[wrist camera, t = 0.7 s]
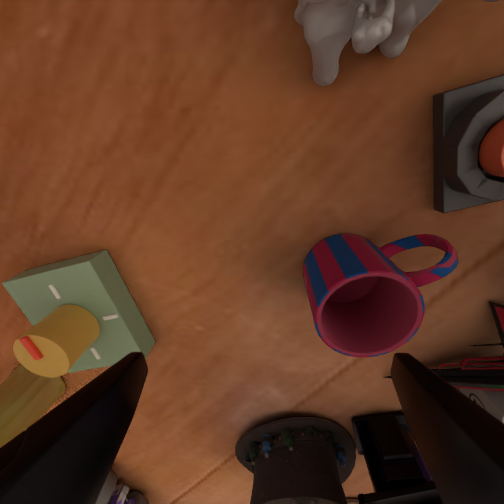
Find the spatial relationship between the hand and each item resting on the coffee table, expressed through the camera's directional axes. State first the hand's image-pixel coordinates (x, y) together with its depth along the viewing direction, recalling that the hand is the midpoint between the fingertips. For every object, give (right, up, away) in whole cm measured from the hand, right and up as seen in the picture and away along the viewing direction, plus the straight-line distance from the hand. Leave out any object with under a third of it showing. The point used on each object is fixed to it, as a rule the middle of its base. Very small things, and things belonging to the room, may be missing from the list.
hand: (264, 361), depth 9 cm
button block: (+16, +11, +9) cm, 21 cm away
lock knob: (-17, -3, +14) cm, 22 cm away
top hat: (+5, -21, +24) cm, 33 cm away
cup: (+9, +3, +13) cm, 16 cm away
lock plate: (-16, -2, +17) cm, 24 cm away
